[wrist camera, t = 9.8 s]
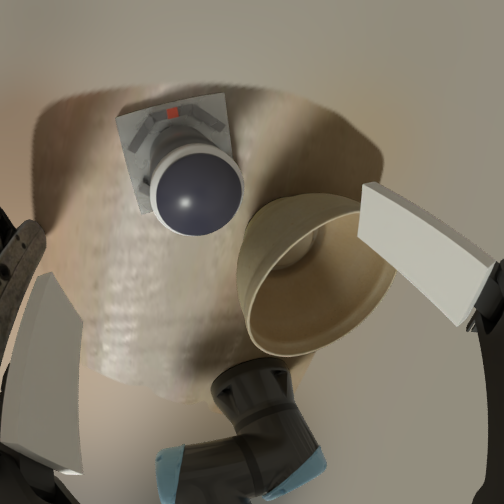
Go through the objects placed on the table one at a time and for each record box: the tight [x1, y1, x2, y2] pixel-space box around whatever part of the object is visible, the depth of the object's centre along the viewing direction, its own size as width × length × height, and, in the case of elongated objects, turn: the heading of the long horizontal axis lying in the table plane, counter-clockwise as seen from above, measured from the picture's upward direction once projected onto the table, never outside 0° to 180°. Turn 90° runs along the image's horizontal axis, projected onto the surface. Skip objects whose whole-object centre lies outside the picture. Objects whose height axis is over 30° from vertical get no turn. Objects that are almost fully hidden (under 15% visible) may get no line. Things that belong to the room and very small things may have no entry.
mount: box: [115, 92, 233, 215], centre depth 21 cm, size 9×9×2 cm
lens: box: [150, 125, 244, 236], centre depth 17 cm, size 5×5×10 cm
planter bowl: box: [236, 193, 397, 357], centre depth 27 cm, size 16×16×11 cm
